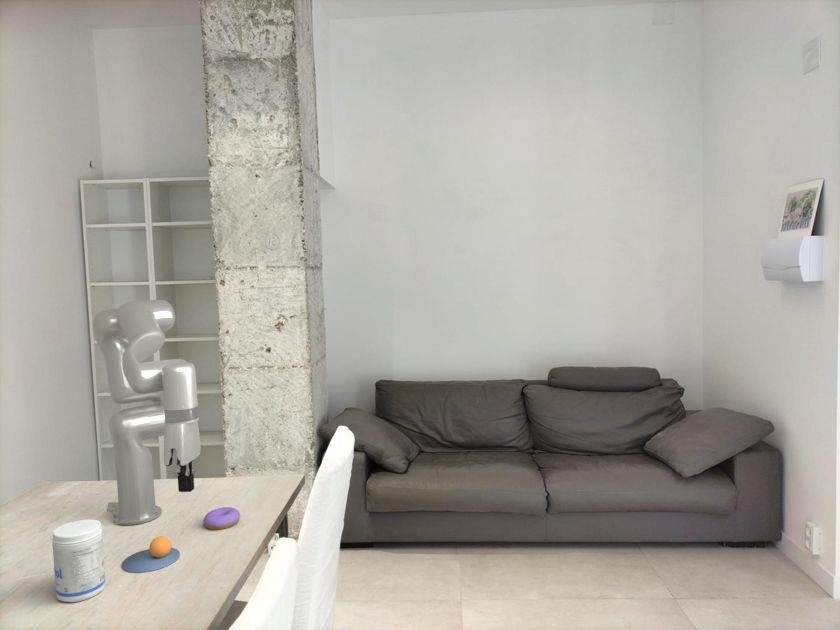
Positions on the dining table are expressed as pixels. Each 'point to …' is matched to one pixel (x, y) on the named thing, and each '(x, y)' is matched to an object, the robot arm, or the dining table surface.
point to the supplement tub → (78, 560)
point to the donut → (221, 518)
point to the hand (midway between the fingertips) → (186, 490)
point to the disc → (148, 561)
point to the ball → (160, 546)
